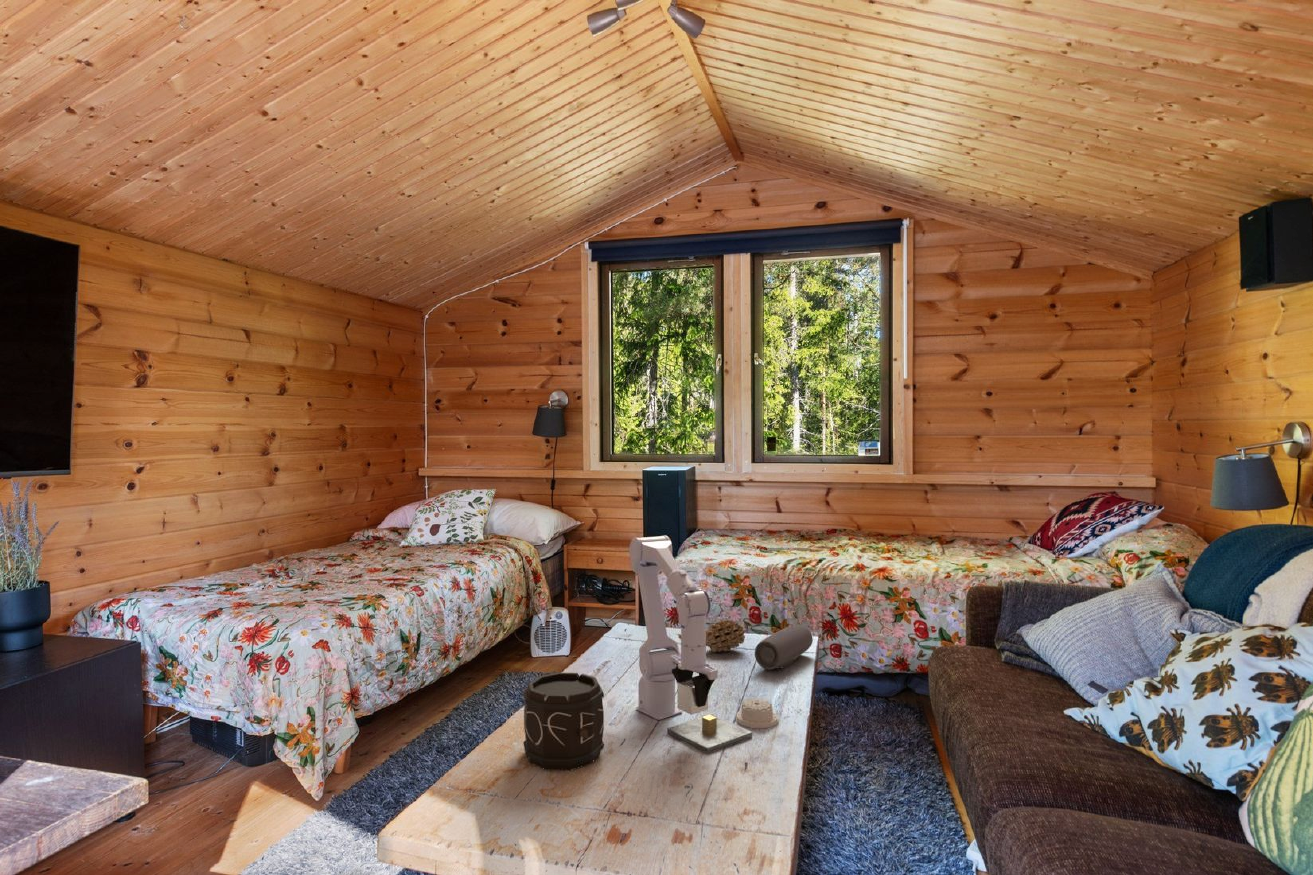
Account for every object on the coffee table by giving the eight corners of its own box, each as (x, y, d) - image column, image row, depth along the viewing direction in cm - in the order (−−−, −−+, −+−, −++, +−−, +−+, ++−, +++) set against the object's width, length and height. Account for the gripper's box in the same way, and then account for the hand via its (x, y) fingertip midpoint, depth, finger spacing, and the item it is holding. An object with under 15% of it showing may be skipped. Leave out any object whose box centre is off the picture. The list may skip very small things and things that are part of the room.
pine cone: (741, 646, 249) (741, 615, 248) (749, 654, 239) (749, 623, 239) (674, 649, 245) (674, 618, 245) (679, 658, 236) (679, 626, 236)
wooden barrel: (543, 782, 155) (542, 705, 155) (510, 749, 170) (510, 679, 170) (620, 760, 165) (620, 688, 164) (582, 732, 180) (582, 665, 180)
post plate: (667, 733, 179) (667, 715, 179) (711, 718, 188) (711, 701, 188) (707, 753, 168) (707, 734, 168) (752, 737, 177) (752, 719, 177)
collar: (677, 708, 177) (677, 682, 176) (694, 703, 180) (693, 677, 179) (691, 714, 173) (691, 688, 172) (708, 709, 176) (707, 683, 175)
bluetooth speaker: (786, 651, 243) (787, 620, 243) (814, 656, 238) (814, 624, 237) (752, 670, 225) (752, 636, 224) (781, 676, 219) (781, 642, 219)
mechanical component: (734, 727, 183) (776, 731, 181) (734, 709, 183) (776, 712, 181) (738, 712, 193) (778, 715, 191) (738, 694, 193) (778, 697, 191)
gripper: (660, 639, 179) (660, 696, 179) (700, 654, 168) (700, 715, 168) (683, 634, 183) (683, 690, 184) (724, 648, 172) (724, 708, 172)
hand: (693, 702), depth 176 cm, fingers closed on collar, 5 cm apart
